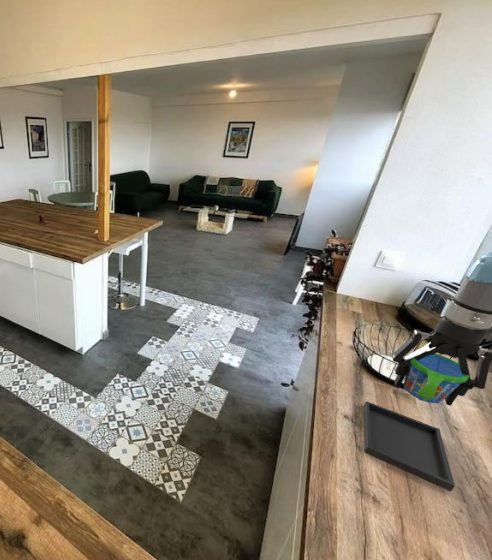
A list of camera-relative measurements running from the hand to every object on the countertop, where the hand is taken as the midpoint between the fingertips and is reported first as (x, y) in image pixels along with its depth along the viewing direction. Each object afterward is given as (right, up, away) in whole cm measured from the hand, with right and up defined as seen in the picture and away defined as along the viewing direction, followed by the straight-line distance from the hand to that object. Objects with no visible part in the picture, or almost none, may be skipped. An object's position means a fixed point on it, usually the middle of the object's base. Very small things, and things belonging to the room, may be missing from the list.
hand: (421, 392), depth 82 cm
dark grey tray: (-1, -15, +4) cm, 16 cm away
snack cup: (0, 0, 0) cm, 0 cm away
